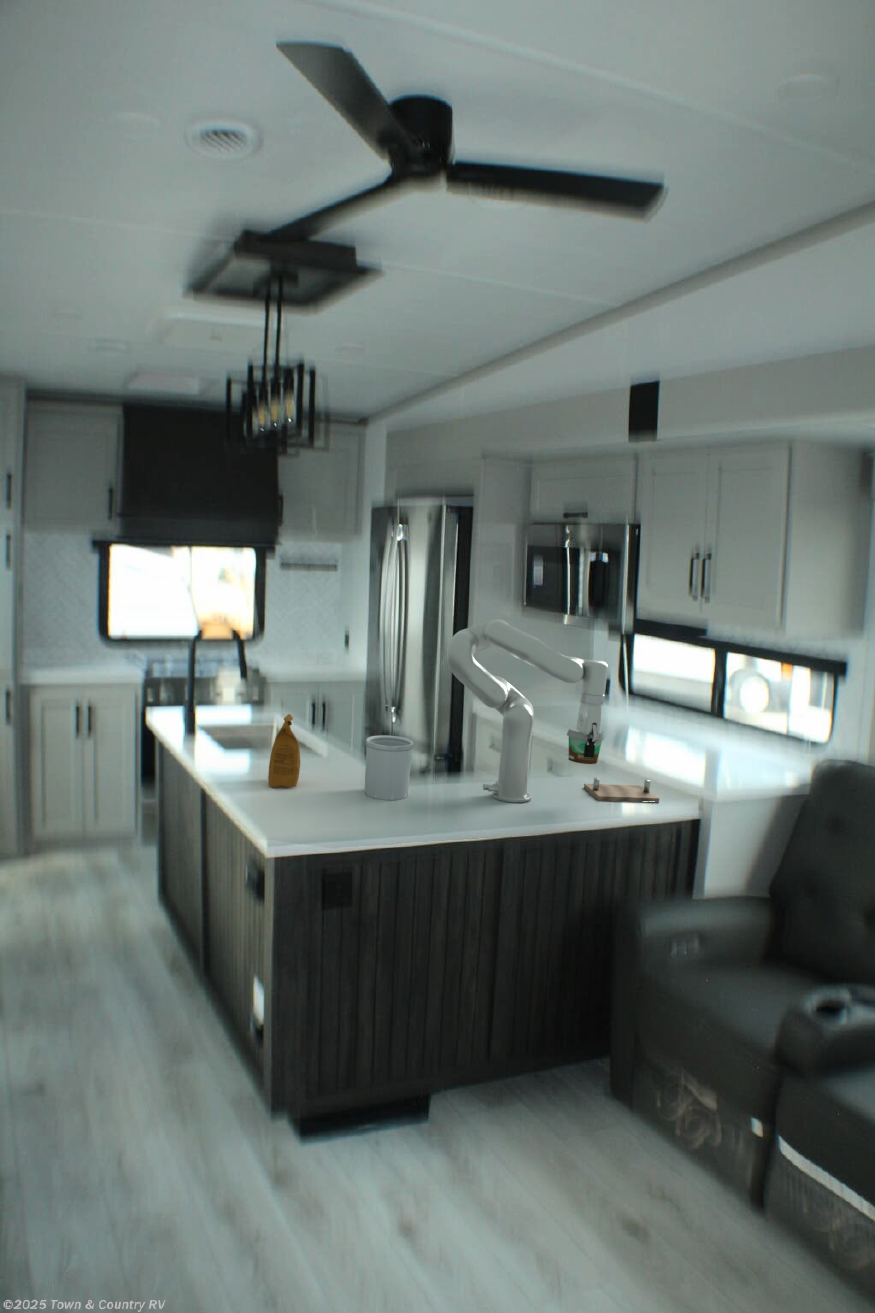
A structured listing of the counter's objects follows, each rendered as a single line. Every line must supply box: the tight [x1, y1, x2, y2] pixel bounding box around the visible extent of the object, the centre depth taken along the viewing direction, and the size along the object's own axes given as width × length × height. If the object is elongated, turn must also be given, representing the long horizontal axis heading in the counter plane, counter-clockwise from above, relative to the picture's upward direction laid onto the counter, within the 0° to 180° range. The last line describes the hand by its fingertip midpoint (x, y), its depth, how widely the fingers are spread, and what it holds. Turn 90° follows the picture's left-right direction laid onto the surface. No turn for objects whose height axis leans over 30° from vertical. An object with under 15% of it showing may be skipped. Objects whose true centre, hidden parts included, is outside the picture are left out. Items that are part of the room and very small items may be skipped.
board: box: [583, 777, 660, 803], centre depth 337 cm, size 21×16×6 cm
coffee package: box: [267, 713, 301, 789], centre depth 316 cm, size 10×12×22 cm
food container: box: [566, 728, 605, 765], centre depth 318 cm, size 12×6×10 cm, turn 99°
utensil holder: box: [364, 734, 415, 801], centre depth 314 cm, size 15×15×18 cm
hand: (585, 754), depth 319 cm, fingers closed on food container, 5 cm apart
